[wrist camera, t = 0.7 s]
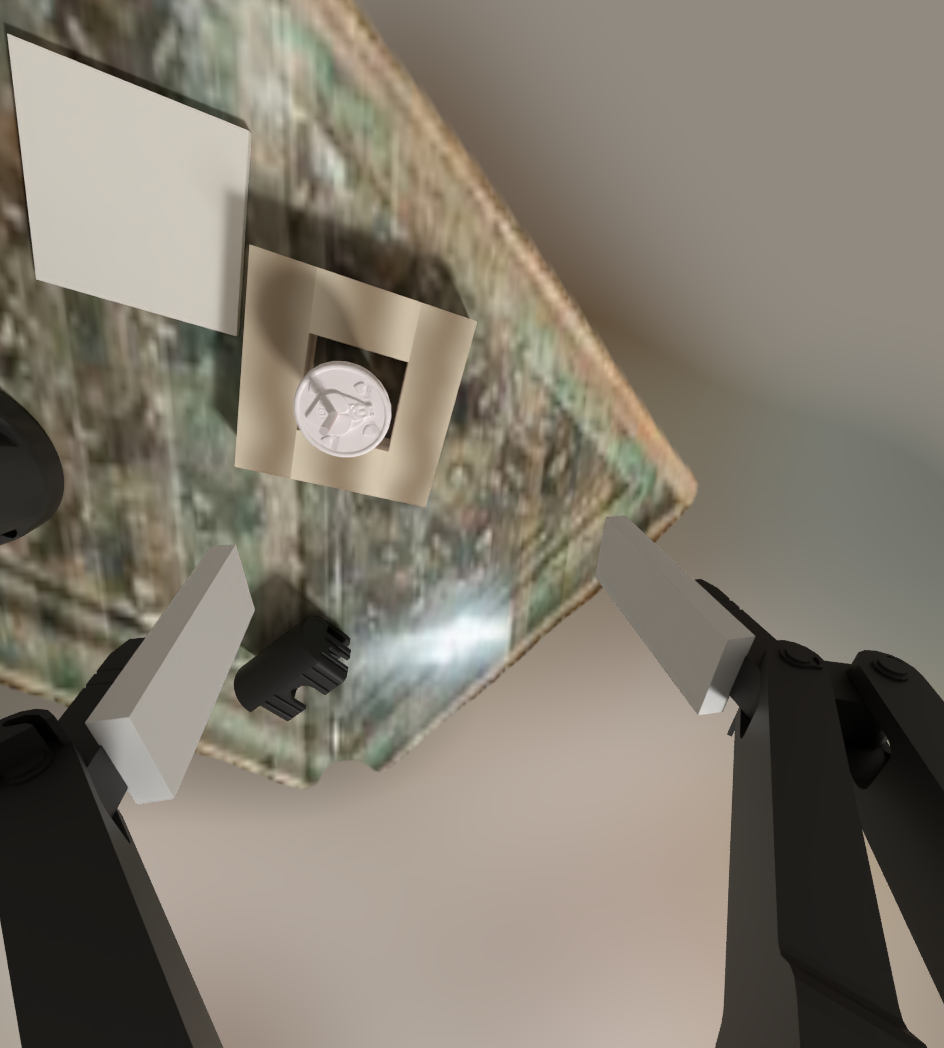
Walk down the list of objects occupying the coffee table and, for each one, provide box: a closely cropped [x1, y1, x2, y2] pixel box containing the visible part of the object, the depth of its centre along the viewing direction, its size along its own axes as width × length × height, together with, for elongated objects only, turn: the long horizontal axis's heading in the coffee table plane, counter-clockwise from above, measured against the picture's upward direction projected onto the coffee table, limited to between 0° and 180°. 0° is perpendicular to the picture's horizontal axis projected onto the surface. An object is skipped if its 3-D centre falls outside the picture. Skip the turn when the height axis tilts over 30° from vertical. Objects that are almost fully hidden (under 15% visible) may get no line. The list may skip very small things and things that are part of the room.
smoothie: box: [293, 361, 391, 457], centre depth 31 cm, size 6×6×14 cm
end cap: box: [234, 617, 351, 721], centre depth 46 cm, size 10×7×7 cm
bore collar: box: [235, 245, 477, 507], centre depth 35 cm, size 16×16×4 cm
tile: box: [7, 34, 252, 336], centre depth 29 cm, size 13×13×1 cm
